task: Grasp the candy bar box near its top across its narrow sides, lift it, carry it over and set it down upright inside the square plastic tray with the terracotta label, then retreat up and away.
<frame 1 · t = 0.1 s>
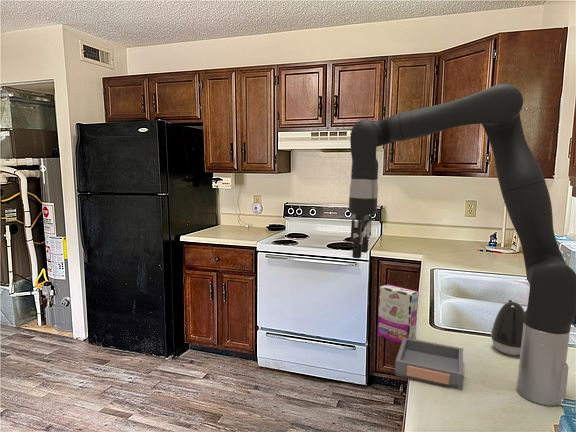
hand: (360, 255, 110), 29 cm above the worktop, fingers open, 8 cm apart
labelled tray: (429, 368, 108), on the worktop
black rounded cone: (508, 351, 120), on the worktop
candy bar box: (395, 340, 126), on the worktop
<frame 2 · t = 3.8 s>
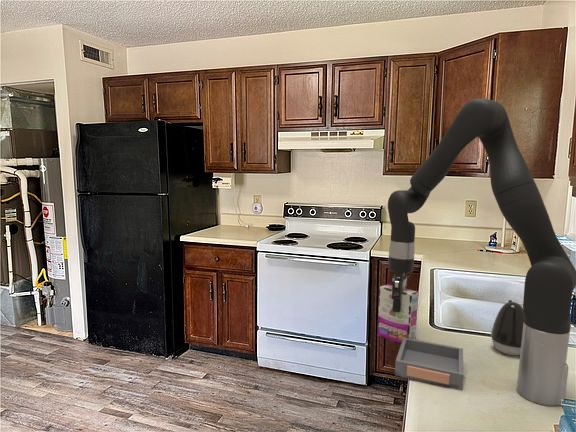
hand: (397, 308, 125), 10 cm above the worktop, fingers closed on candy bar box, 6 cm apart
candy bar box: (395, 339, 126), on the worktop, touching gripper
everything else where it was.
when the fingers open (12 cm above the worktop, at t = 11.2 s): candy bar box stays where it is, resting on labelled tray.
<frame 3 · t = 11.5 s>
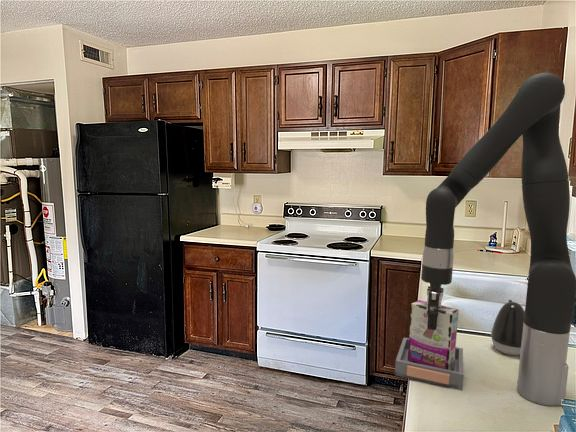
hand: (432, 323, 107), 13 cm above the worktop, fingers open, 8 cm apart
candy bar box: (430, 365, 108), point 1 cm above the worktop, touching labelled tray
everything else where it was.
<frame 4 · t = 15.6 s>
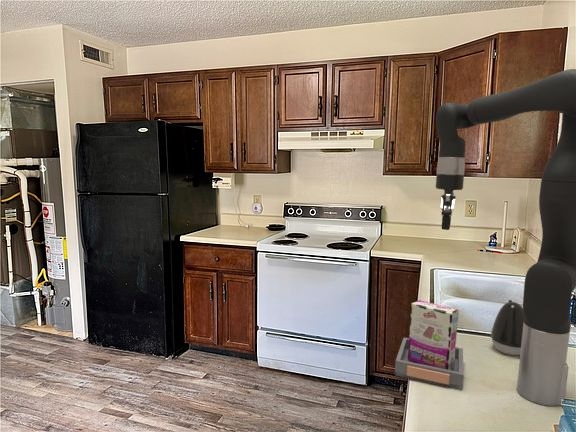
hand: (446, 227, 120), 36 cm above the worktop, fingers open, 8 cm apart
nothing on the worktop moved.
at the end: candy bar box inside the target area on the labelled tray (0.3 cm from its centre), point 0.8 cm above the labelled tray's base; candy bar box tilted 0°; the gripper is holding nothing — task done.
